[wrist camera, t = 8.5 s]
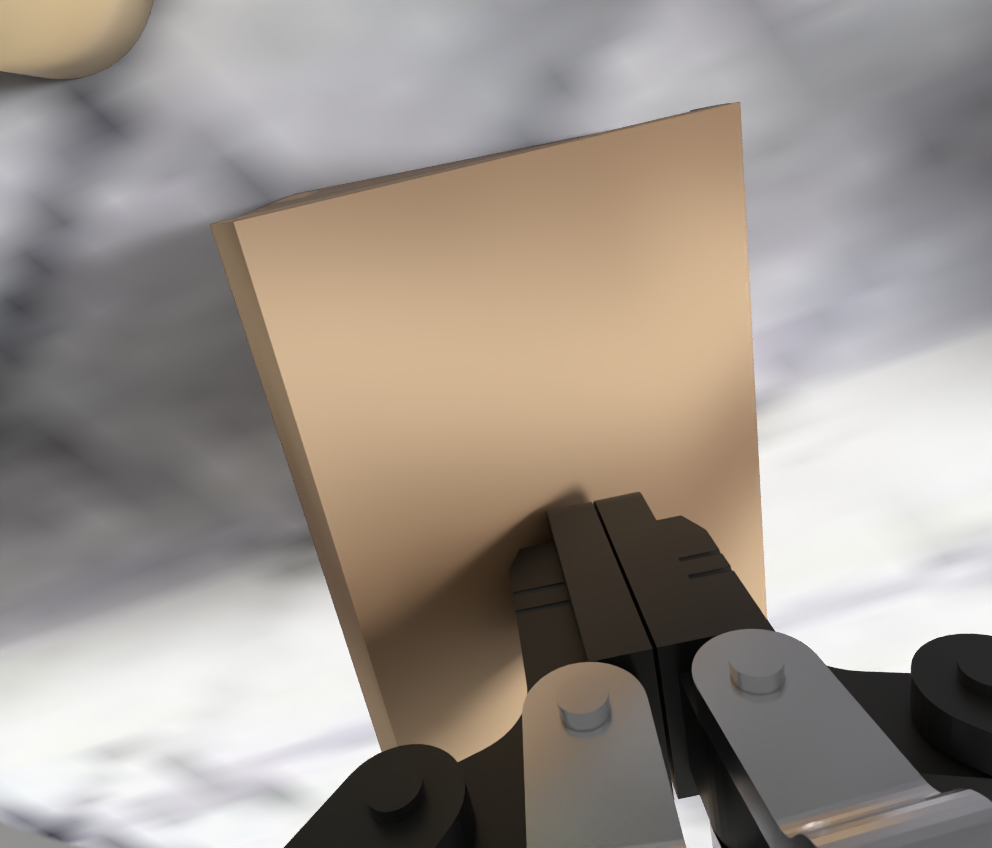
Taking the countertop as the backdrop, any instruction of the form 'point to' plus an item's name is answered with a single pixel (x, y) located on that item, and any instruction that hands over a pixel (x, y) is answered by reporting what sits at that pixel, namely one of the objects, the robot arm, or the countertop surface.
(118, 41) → the domed cream knob
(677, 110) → the countertop surface
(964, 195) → the countertop surface
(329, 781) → the countertop surface
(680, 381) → the lid
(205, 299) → the countertop surface
